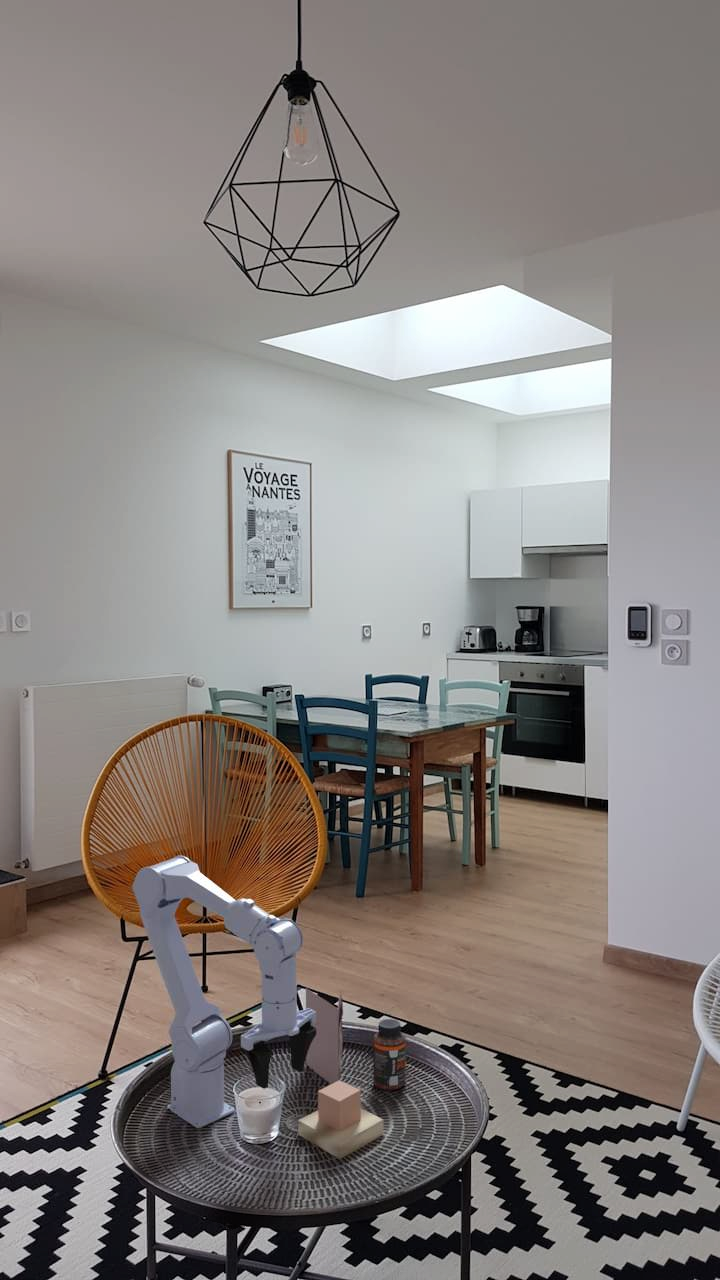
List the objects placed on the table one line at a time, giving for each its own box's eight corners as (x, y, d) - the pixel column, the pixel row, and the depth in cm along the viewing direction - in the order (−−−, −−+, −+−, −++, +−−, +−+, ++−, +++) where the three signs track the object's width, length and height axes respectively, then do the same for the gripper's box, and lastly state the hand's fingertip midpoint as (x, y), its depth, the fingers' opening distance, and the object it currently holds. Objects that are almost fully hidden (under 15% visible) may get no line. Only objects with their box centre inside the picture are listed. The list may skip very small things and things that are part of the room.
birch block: (298, 1137, 166) (298, 1120, 166) (341, 1115, 173) (341, 1098, 173) (339, 1161, 159) (339, 1143, 159) (383, 1137, 166) (383, 1119, 166)
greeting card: (343, 1090, 181) (342, 1008, 180) (302, 1089, 181) (301, 1008, 180) (345, 1060, 192) (345, 983, 192) (307, 1059, 193) (306, 983, 192)
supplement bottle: (403, 1093, 180) (402, 1031, 179) (370, 1090, 181) (370, 1029, 180) (408, 1077, 186) (407, 1017, 185) (376, 1074, 187) (376, 1015, 186)
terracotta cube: (318, 1120, 166) (317, 1091, 166) (339, 1109, 170) (339, 1080, 170) (339, 1131, 163) (339, 1101, 162) (360, 1119, 166) (360, 1090, 166)
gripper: (260, 1017, 156) (261, 1102, 157) (328, 990, 166) (328, 1070, 167) (232, 1004, 161) (233, 1086, 162) (300, 979, 171) (301, 1056, 172)
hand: (280, 1077), depth 164 cm, fingers open, 7 cm apart
